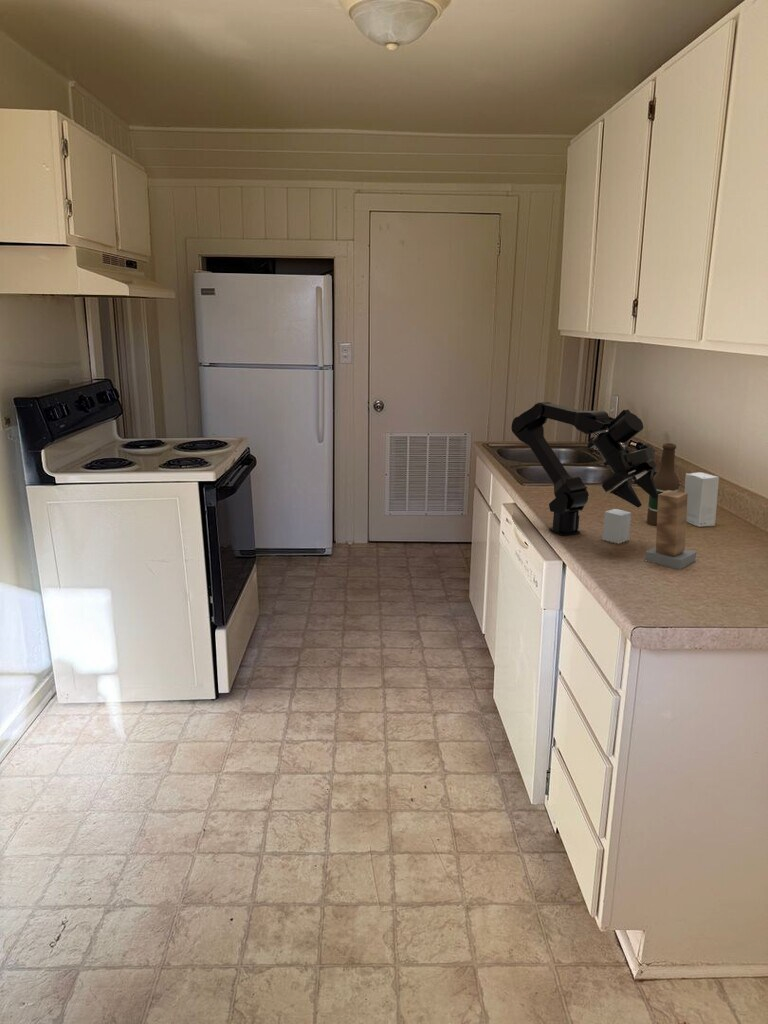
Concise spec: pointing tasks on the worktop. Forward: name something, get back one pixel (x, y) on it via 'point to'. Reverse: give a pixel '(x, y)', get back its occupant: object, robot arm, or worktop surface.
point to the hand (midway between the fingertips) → (648, 502)
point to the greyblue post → (616, 526)
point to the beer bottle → (663, 480)
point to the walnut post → (671, 522)
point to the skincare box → (701, 498)
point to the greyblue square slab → (671, 558)
